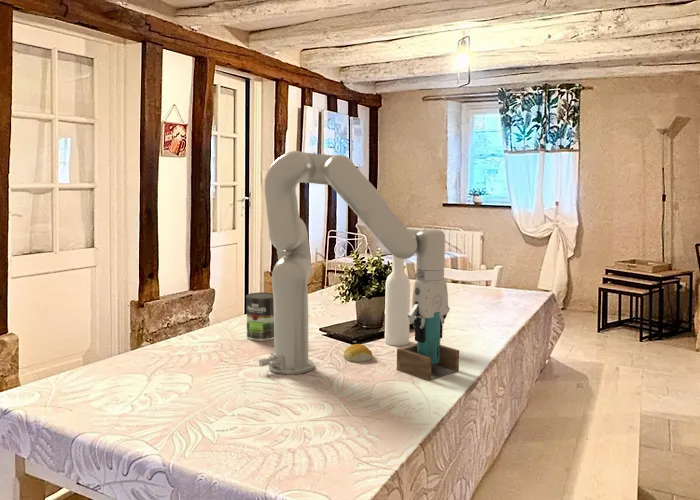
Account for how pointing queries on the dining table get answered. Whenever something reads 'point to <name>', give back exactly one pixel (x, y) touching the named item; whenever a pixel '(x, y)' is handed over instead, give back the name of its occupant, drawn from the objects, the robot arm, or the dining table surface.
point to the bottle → (397, 305)
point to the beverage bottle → (431, 339)
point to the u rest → (427, 362)
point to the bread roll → (357, 353)
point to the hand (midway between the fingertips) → (428, 338)
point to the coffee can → (260, 316)
